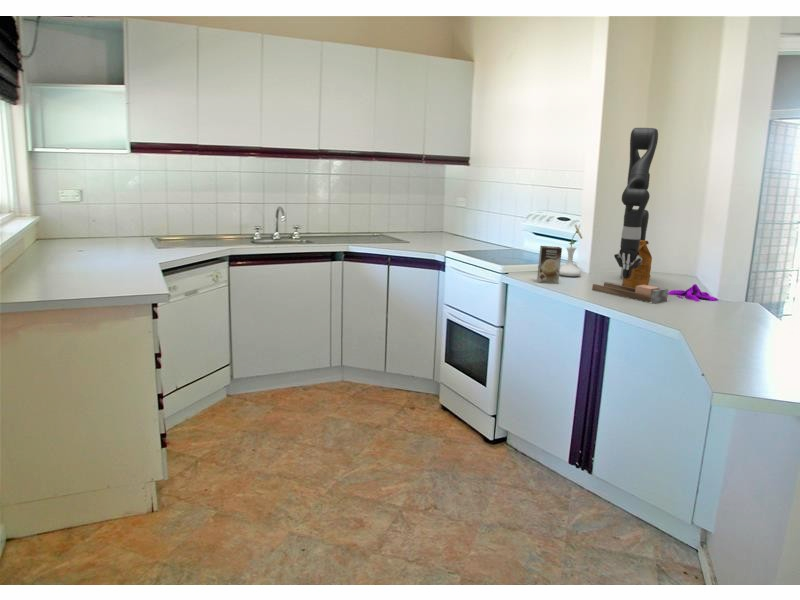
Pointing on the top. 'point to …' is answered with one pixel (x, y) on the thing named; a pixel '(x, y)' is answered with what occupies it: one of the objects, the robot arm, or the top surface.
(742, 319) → the top surface
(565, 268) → the flower in vase
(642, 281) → the coffee package
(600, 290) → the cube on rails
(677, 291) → the cloth
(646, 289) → the block
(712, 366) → the top surface
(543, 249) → the coffee box
